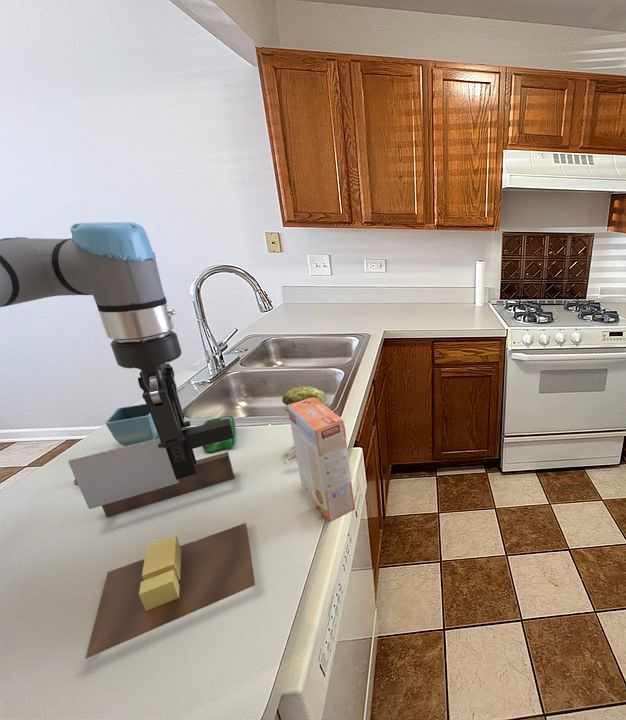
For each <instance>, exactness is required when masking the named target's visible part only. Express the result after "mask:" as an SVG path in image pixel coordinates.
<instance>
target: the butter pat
mask: <svg viewBox="0 0 626 720" xmlns="http://www.w3.org/2000/svg"><path fill="white" fill-rule="evenodd" d="M179 587H180V586H179V583H178V580H177V577H176V575H175V572H174V570H171V571H168V572H166V573H163V574H160V575H158V576H155V577H152V578H150V579H147V580H145V581H142V582H141V584H140V590H139V596H140V598H141V601H142V603H143V605H144V608H145V610H146V611H148V610H150V609H153V608H155V607H158V606H160V605H162V604H165V603H167V602H170V601H172V600H175V599H177V598H179Z"/></svg>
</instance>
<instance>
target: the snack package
mask: <svg viewBox="0 0 626 720" xmlns="http://www.w3.org/2000/svg"><path fill="white" fill-rule="evenodd" d="M225 419H230V423H231V427H232V431H233V436H234V438H232V439H228V440H224V441H221V442H217V443H213V444H209V445H205V446H202V449H203V451H204V452H206V453H212V452H217V451H221V450H228V449H231V448H232V447H234V446H235V444H236V421H235V418H234V416H231V415H226V416H221V417H217V418H211V419H207V420H206V421H205V422H203V425H205V424H209V423H213V422H217V421H221V420H225Z"/></svg>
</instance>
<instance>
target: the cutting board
mask: <svg viewBox="0 0 626 720" xmlns="http://www.w3.org/2000/svg"><path fill="white" fill-rule="evenodd" d="M180 548H181V569H180V580H179V581H178V583H179V586H180V587H179V598H177V599H175V600H172V601H170V602H167V603H165V604H162V605H160V606H158V607H155V608H153V609H150V610H148V611H146V610H145V608H144V605H143V603H142V601H141V598H140V596H139V590H140V584H141V582H142V581H144V580H143V578H142V572H143V565H144V559H145V558H143V559H139V560H136V561H135V562H132V563H129V564H126V565H124V566H120V567H118V568H115V569H113V570H110V571H107V573H106V577H105V581H104V584H103V589H102V593H101V597H100V599H99V605H98V608H97V612H96V617H95V620H94V624H93V628H92V631H91V636H90V639H89V644H88V646H87V652H86V655H85V659H88V658H91V657H92V656H95V655H97V654H100V653H103V652H104V651H107V650H109V649H111V648H114V647H116V646H119V645H121V644H123V643H125V642H128V641H130V640H132V639H135V638H137V637H139V636H142V635H143V634H146V633H148V632H150V631H153V630H155V629H157V628H160V627H162V626H165V625H167V624H169V623H171V622H174V621H176V620H178V619H180V618H183V617H186V616H187V615H190V614H192V613H194V612H197V611H199V610H201V609H203V608H207V607H209V606H211V605H212V604H216V603H217V602H220V601H223V600H224V599H227V598H229V597H231V596H233V595H236V594H239V593H240V592H242V591H246V590H248V589H250V588H253V587H255V586H256V581H255V574H254V567H253V561H252V553H251V545H250V540H249V531H248V525H247V522H244V523H241V524H239V525H236V526H233V527H230V528H227V529H225V530H222V531H218V532H216V533H213V534H210V535H207V536H205V537H202V538H199V539H196V540H194V541H191V542H187V543H185V544H182V545H180Z"/></svg>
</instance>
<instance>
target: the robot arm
mask: <svg viewBox="0 0 626 720" xmlns="http://www.w3.org/2000/svg"><path fill="white" fill-rule="evenodd" d="M70 234H71V238H43V237H41V238H40V237H38V238H33V237H32V238H31V237H23V236H22V237H19V236H17V237H4V238H0V308H3V307H4V308H5V307H10V306H14V305H18V304H22V303H23V304H24V303H27V302H31V301H37V300H41V299H46V298H47V299H48V298H52V297H61V296H92V297H93V300H94V302H95V304H96V307H97V311H98V314H99V317H100V320H101V323H102V327H103V329H104V331H105V335H106V337H107V338H108V339H111V343H110V347H111V349H112V353H113V355H114V358H115V361H116V364H117V366H119V367H121V368H124V369H136V370H137V369H138V370H139V371H140V372H139V377H137V383H138V386H139V388H140V390H142V391H143V392H142V395H141V396H142V399H143V400H144V402H145V404H147V406H148V408H149V411H150V414H151V416H152V419H153V422H154V425H155V427H156V430H157V433H158V436H157V437H158V438H160V441H161V442H160V443H159V444H158V447H159V448H162V447H163V448H166V451H167V454H168V457H169V460H170V463H171V466H172V469H173V472H174V475H175V478H176V480H178V479H181V478H184V477H188V476H191V475H195V474H196V468H195V465H194V464H196V460H197V459H196V456H195V453H194V449H189V446H188V442H187V439H186V438H185V436H183V432H182V430H184V429H186V428H190V427H191V421H190V420H188V421H184V420H185V418H186V417H185V414H184V413H183V409H182V406H181V402H180V398H179V395H178V386H177V384H176V380H175V371H174V368H173V366H172V365H171V364H170V362H173V361H175V360H177V359H178V358H180V357H181V355H182V348H181V344H180V341H179V338H178V334H177V333H176V332H175V331H173V329H174V328H175V325H174V322H173V318H172V317H171V316H175V315H176V310H175V309H174V308H168V307H169V306H168V300H167V297H166V296H165V293H164V289H163V285H162V280H161V276H160V273H159V268H158V264H157V259H156V253H155V252H154V251H153V248H152V246H151V243H150V239H149V237H148V234H147V231H146V229H145V228H144V227H143V226H142V225H140V224H139V223H136V222H129V221H125V222H123V221H120V222H119V221H118V222H115V221H114V222H107V221H106V222H77V223H73V224H72V225H71V226H70Z"/></svg>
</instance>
